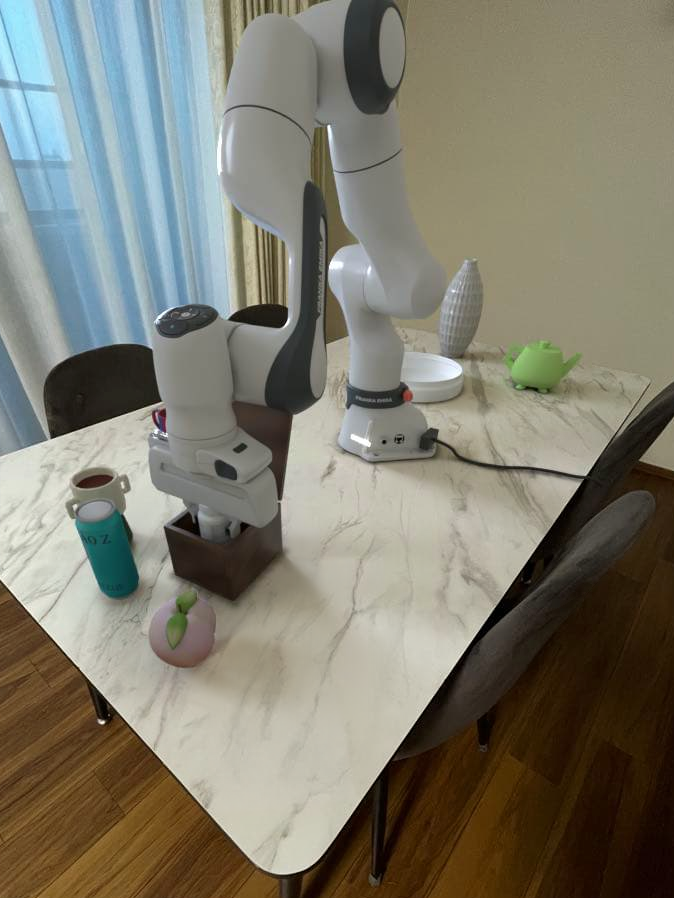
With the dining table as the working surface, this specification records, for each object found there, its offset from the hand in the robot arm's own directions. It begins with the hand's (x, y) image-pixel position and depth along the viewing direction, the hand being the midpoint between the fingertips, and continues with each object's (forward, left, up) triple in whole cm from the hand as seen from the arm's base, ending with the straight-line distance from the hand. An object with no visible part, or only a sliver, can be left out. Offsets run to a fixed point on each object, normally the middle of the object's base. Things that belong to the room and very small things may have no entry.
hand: (217, 528), depth 70 cm
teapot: (-77, -83, -8) cm, 114 cm away
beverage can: (+15, +5, -8) cm, 18 cm away
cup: (+20, -45, -8) cm, 50 cm away
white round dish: (-42, -82, -8) cm, 93 cm away
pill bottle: (0, 0, -3) cm, 3 cm away
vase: (-59, -110, -8) cm, 125 cm away
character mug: (+20, -6, -8) cm, 22 cm away
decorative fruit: (+2, +17, -8) cm, 19 cm away
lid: (-5, -9, +9) cm, 14 cm away
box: (-1, -2, -8) cm, 9 cm away
